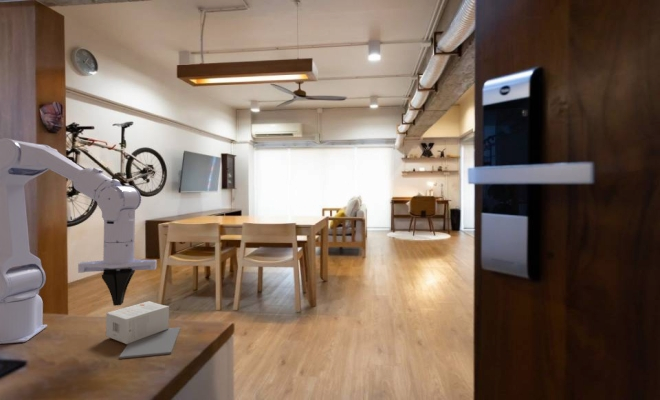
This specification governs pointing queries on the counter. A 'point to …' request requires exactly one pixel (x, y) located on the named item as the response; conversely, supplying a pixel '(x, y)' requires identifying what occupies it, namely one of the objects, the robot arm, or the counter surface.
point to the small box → (137, 321)
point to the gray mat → (152, 344)
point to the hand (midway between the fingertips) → (118, 304)
